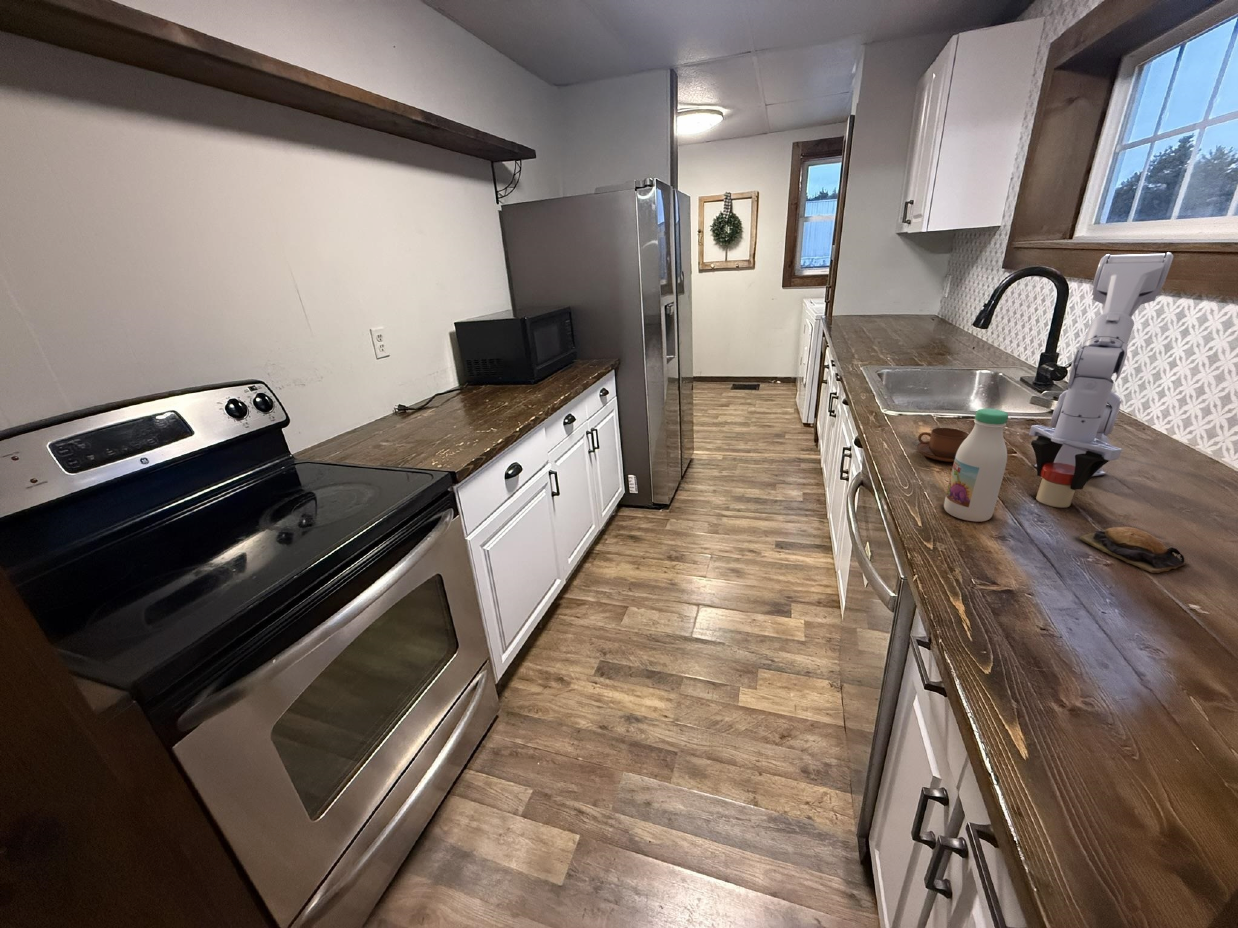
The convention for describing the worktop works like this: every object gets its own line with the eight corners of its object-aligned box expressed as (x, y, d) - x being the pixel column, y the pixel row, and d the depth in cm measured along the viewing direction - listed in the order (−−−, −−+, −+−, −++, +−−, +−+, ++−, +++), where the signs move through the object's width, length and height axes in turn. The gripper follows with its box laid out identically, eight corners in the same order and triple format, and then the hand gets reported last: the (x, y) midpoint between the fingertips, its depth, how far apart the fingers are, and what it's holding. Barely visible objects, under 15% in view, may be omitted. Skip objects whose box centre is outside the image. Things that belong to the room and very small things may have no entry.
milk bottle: (984, 505, 96) (1011, 406, 89) (997, 525, 90) (1027, 419, 82) (938, 501, 99) (960, 404, 91) (948, 519, 92) (973, 416, 84)
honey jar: (1049, 493, 100) (1059, 464, 97) (1077, 505, 95) (1088, 474, 93) (1029, 497, 99) (1038, 468, 96) (1056, 509, 94) (1066, 478, 91)
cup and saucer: (919, 463, 116) (924, 438, 114) (912, 446, 126) (917, 423, 124) (980, 469, 112) (986, 443, 110) (968, 450, 122) (973, 426, 120)
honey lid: (1032, 474, 97) (1035, 464, 96) (1058, 470, 98) (1061, 461, 97) (1062, 486, 92) (1066, 476, 91) (1090, 482, 93) (1093, 472, 92)
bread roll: (1074, 540, 84) (1080, 521, 83) (1111, 532, 86) (1118, 513, 85) (1151, 575, 74) (1159, 554, 73) (1191, 564, 76) (1200, 544, 75)
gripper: (1024, 405, 96) (1006, 470, 101) (1108, 427, 83) (1082, 500, 88) (1054, 402, 97) (1034, 466, 102) (1140, 423, 84) (1113, 495, 89)
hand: (1058, 481), depth 95 cm, fingers closed on honey lid, 6 cm apart
